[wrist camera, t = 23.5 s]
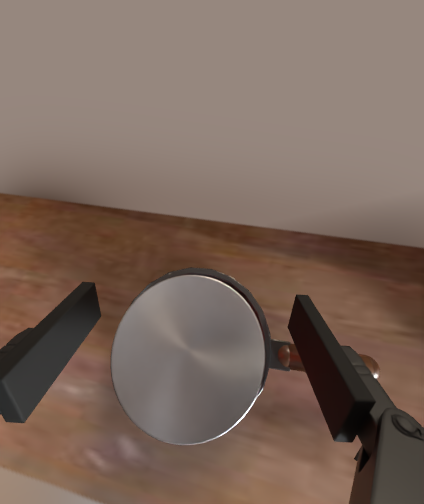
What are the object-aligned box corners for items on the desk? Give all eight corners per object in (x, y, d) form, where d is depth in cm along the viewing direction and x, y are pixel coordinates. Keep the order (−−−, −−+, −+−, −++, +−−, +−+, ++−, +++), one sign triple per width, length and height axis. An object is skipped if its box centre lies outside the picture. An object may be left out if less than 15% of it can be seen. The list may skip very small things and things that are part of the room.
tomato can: (249, 336, 20) (299, 339, 9) (202, 400, 18) (194, 500, 7) (196, 289, 21) (184, 245, 11) (146, 345, 19) (72, 359, 9)
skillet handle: (263, 365, 17) (269, 369, 15) (264, 338, 18) (271, 338, 16) (370, 382, 17) (388, 387, 15) (367, 354, 17) (384, 356, 16)
